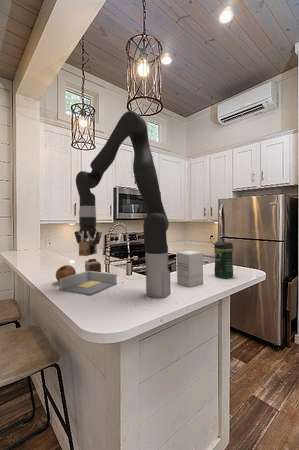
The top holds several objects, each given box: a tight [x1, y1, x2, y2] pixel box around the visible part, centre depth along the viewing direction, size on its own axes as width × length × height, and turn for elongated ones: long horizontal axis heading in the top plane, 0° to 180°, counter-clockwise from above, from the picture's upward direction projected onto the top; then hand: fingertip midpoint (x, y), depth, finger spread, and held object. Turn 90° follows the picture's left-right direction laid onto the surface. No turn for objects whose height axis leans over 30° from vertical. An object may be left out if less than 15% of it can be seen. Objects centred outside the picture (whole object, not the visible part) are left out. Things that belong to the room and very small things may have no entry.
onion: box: [55, 264, 77, 283], centre depth 116 cm, size 10×9×10 cm
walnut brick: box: [78, 240, 98, 257], centre depth 107 cm, size 8×4×6 cm, turn 158°
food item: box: [84, 258, 102, 272], centre depth 129 cm, size 14×8×10 cm, turn 27°
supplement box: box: [176, 250, 204, 288], centre depth 111 cm, size 9×9×15 cm
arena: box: [59, 271, 118, 296], centre depth 107 cm, size 18×18×5 cm
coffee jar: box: [213, 240, 234, 279], centre depth 123 cm, size 10×8×19 cm
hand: (88, 253), depth 107 cm, fingers closed on walnut brick, 4 cm apart
